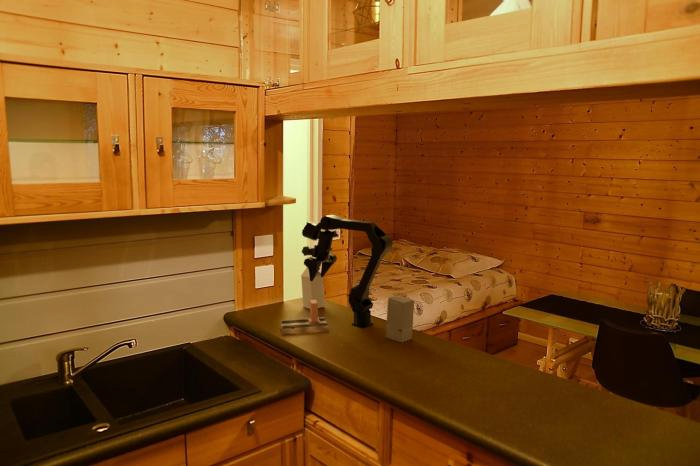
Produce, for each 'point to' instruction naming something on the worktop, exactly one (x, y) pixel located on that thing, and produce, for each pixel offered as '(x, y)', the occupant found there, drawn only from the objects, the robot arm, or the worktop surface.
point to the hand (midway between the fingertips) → (316, 278)
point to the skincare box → (399, 318)
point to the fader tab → (313, 312)
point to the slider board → (303, 326)
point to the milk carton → (312, 289)
